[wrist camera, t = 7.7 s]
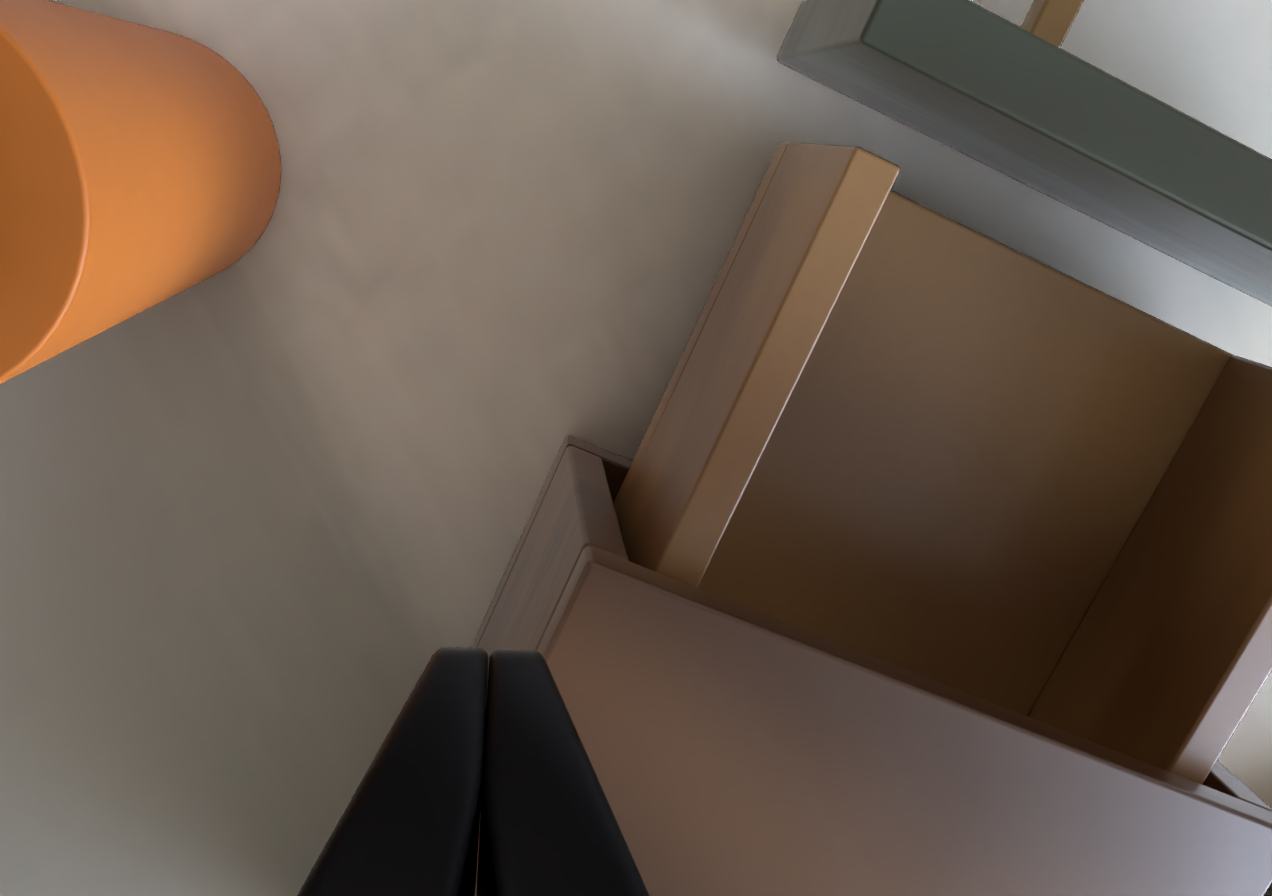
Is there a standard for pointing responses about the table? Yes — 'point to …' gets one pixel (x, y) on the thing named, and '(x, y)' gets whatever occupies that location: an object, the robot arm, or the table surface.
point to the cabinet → (831, 746)
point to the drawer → (983, 398)
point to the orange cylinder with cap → (117, 173)
